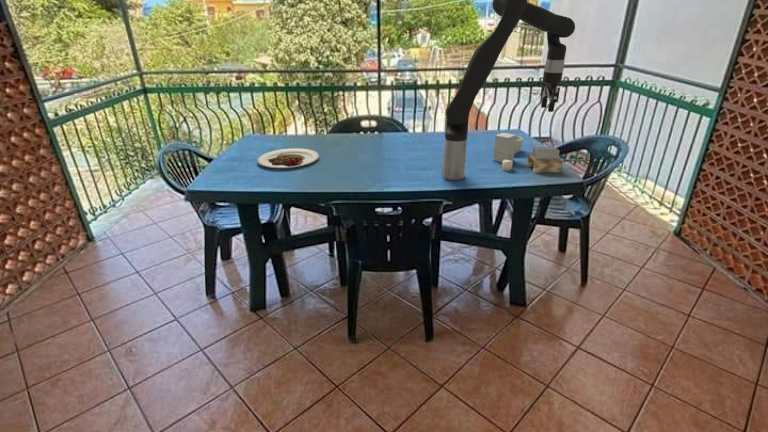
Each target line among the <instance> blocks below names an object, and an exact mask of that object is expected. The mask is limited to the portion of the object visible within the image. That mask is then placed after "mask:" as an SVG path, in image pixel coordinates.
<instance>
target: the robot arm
mask: <svg viewBox="0 0 768 432" xmlns="http://www.w3.org/2000/svg"><path fill="white" fill-rule="evenodd" d="M492 9H493V12H494V13H495V14H496V15H498V16H500V17H501V18H500V20H499V21H498V24H497V25H496V27H495V29H494V30H493V31H492V32H491V33H490V34H489V36H487V37H486V38H484V40H483V41H481V42H480V44H478V45H477V47H475V49H474V52H473V53H472V55H471V57H470V60H469V61H468V64H467V67H466V68H465V71H464V75H463V76H462V80H461V83H460V86H459V87H458V90H457V92H456V94H455V95H454V97H453V99H452V100H451V101H450V102H449V103H448V104H447V106H446V109H445V116H446V119H445V121H446V122H445V133H444V151H443V154H442V171H441V173H442V174H441V175H442V177H443V179H444V180H449V181H460V180H462V179H464V178H465V169H466V157H467V144H468V143H467V142H468V131H469V117H470V112H471V109H472V107H473V104H474V103H475V99H476V97H477V96H478V94H479V92H480V91H481V90H482V88H483V86H484V84H485V83H486V81H487V79H488V77H489V75H490V74H491V72H492V70H493V68H494V67H495V65H496V62H497V60H499V59H498V58H499V56H500V54H501V52H502V50H503V49H504V47H505V45H506V44H507V41H508V40H509V38H510V36H511V35H512V33H513V32H514V30H515V29H516V27H517V25H518V23H519V22H520V21H522V22H523V23H526V24H527V25H529V26H531V27H533V28H535V29H537V30H540V31H542V32H545V33H546V39H547V48H548V50H547V55H546V61H545V64H544V69H543V77H542V84H541V89H540V91H541V92H540V97H541V104H540V107H541V108H542V109H546V108H547V105H548V108H547V111H548V112H549V113H553V112H554V110H555V105H556V103H558V102H559V98H560V91H561V87H559V86H557V85H558V84H561V83H562V79H563V74H564V67H565V59H566V53H567V45H566V44H563V43H562V42H561V40H560V38H561V39H562V38H563V39H564V38H565V39H566V38H569V37H571V36H572V35H573V34H574V32H575V30H576V24H575V22H574V20H573V19H572V18H570V17H567V16H565V15H560V14H557V13H554V12H553V11H551V10H548V9H546V8H544V7H541V6H538V5H536V4H533V3H530V2H528V0H492ZM548 102H549V103H548Z"/></svg>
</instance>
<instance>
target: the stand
mask: <svg viewBox="0 0 768 432" xmlns="http://www.w3.org/2000/svg"><path fill="white" fill-rule="evenodd" d="M526 161H527V162H526V163H527V164H526V166H527V167H530V168H531V167H533V169H532V172H533V173H561V172H562V169H563V167H562V166H563V162H564V161H563V160H562V159H560V157H558V160H535V159H534V158H533V157H532V154H528V157H527V160H526Z"/></svg>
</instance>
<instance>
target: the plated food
mask: <svg viewBox="0 0 768 432" xmlns="http://www.w3.org/2000/svg"><path fill="white" fill-rule="evenodd" d="M318 159H319V153H318V152H317V151H315V150H312V149H307V148H283V149H277V150H272V151H269V152H268V151H267V152H266V153H264V154H262V155H260V156H259V157H258V158H257V160H256V161H257V163H258V164H259V165H261V167H266V168H272V169H273V168H274V169H291V168H292V169H294V168H297V167H303V166H306V165H309V164H312V163H315V162H316V161H317V160H318Z"/></svg>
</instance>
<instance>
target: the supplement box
mask: <svg viewBox="0 0 768 432" xmlns="http://www.w3.org/2000/svg"><path fill="white" fill-rule="evenodd" d="M516 136H517V134H512V133H507V132H501V133H498V134H496V135H495V136H494V147H493V158H492V160H493V161H494V162H499V163H503V160H512V161H514V157H515V154H514V151H515V142H516Z"/></svg>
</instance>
